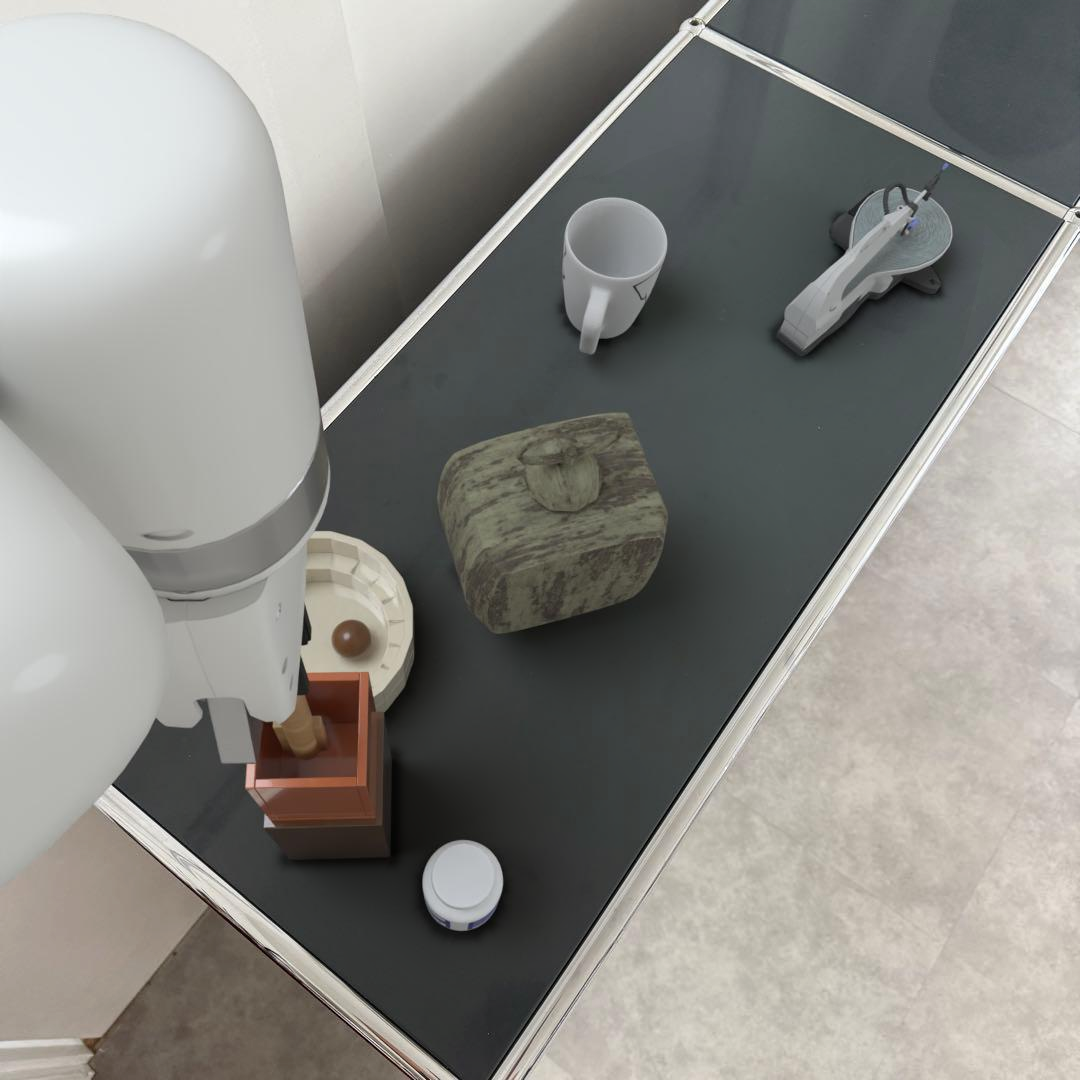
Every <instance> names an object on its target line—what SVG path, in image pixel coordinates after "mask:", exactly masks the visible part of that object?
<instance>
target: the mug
mask: <svg viewBox="0 0 1080 1080" xmlns="http://www.w3.org/2000/svg"><path fill="white" fill-rule="evenodd" d="M564 231H565V232H564V237H563V248H562V249H563V250H562V251H563V253H562V269H561V270H562V272H561V273H562V285H563V286H562V287H563V288H562V289H563V295H564V296H563V297H564V307H565V312H566V315H567V317H568V320H569V322H570V323H571V324H572V326H573V327H574V328H575V329H576V330H577V331H579V332H580V338H579V339H580V340H579V351H580V352H581V353H583V354H586V355H594V354H595V352H596V350H597V347H598V343H599V340H600V339H610V338H611V339H612V338H615V337H618V336H620V335H622V334H624V333H625V332H627V330H629V328H630V327H631V326H632V325H633V323H634V322H635V321H636V319H637V317H638V316H639V314H640V312H641V311H642V309H643V307H644V306H645V304H646V302H647V301H648V299H649V297H650V295H651V293H652V291H653V289H654V287H655V284H656V282H657V280H658V277H659V275H660V271H661V269H662V268H663V265H664V262H665V259H666V255H667V252H668V236H667V233H666V230H665V228H664V226H663V224H662V222H661V221H660V219H659V217H657V216H656V214H655V213H654V212H652V210H650V209H648V208H647V207H646V206H644V205H642V204H640V203H638V202H636V201H633V200H630V199H627V198H623V197H622V198H621V197H602V198H598V199H594V200H591V201H588V202H587V203H585V204H583V205H582V206H580V207H579V208H577V210H575V211H574V212H573V214H572V215H571V217H570V218H569V220H568V221H567V224H566V227H565V230H564Z"/></svg>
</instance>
